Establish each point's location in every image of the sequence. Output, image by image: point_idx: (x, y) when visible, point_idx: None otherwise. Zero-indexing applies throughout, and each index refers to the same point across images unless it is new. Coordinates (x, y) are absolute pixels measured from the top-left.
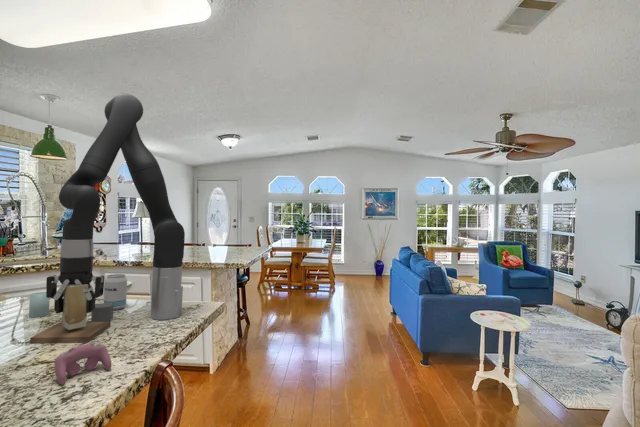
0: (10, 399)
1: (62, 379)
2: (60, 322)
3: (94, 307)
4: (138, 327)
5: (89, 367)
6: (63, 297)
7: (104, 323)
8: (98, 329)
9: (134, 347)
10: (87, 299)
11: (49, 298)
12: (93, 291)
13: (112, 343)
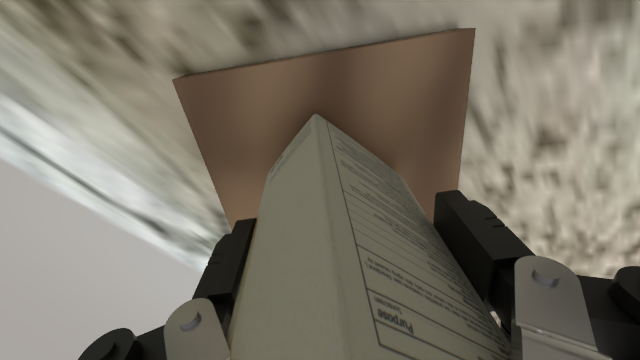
0: None
1: None
2: (178, 82)
3: (487, 215)
4: (628, 21)
5: None
6: (234, 315)
7: (449, 68)
8: (456, 162)
9: (611, 238)
10: (487, 311)
11: None
12: (589, 339)
13: (530, 219)
